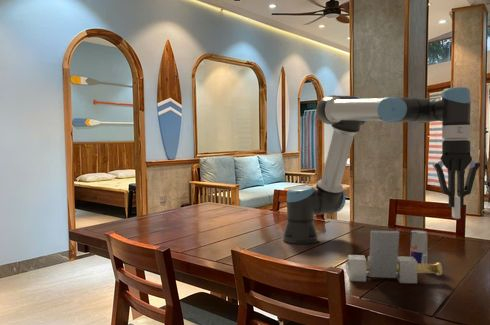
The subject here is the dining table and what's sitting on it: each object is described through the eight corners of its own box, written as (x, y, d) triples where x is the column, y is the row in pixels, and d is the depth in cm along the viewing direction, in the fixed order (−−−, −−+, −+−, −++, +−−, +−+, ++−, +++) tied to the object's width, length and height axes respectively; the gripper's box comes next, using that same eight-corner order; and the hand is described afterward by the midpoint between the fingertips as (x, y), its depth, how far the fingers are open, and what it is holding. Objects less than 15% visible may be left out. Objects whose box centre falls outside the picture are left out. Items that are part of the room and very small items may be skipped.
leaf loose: (371, 232, 121) (369, 225, 126) (369, 277, 126) (367, 268, 130) (399, 232, 120) (396, 225, 124) (396, 278, 125) (392, 269, 129)
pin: (365, 274, 126) (366, 262, 126) (364, 270, 130) (364, 258, 129) (442, 276, 123) (442, 264, 122) (438, 272, 126) (438, 260, 126)
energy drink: (407, 263, 142) (407, 230, 142) (421, 263, 143) (422, 229, 142) (414, 268, 137) (415, 233, 136) (430, 268, 137) (430, 233, 137)
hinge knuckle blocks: (349, 280, 126) (349, 259, 126) (346, 268, 138) (346, 249, 138) (417, 283, 123) (417, 261, 123) (407, 270, 135) (407, 250, 135)
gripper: (436, 140, 119) (436, 219, 120) (484, 139, 116) (484, 220, 118) (429, 140, 126) (429, 215, 127) (474, 139, 124) (474, 215, 125)
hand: (456, 217), depth 122 cm, fingers closed
